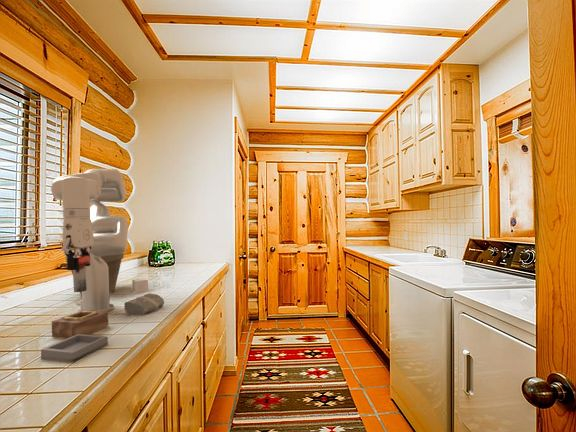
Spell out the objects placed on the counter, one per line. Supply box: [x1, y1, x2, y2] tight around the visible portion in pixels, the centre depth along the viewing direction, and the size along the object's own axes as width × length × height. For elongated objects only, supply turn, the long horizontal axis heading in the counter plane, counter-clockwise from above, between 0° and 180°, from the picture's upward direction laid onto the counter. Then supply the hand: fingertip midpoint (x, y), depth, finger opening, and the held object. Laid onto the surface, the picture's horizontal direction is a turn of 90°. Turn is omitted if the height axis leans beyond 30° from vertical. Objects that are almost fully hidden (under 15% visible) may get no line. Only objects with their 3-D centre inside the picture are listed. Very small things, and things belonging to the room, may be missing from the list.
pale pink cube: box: [131, 277, 149, 294], centre depth 158 cm, size 6×6×6 cm
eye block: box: [51, 311, 109, 339], centre depth 103 cm, size 11×11×6 cm
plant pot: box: [65, 251, 125, 297], centre depth 156 cm, size 25×25×22 cm
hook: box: [72, 255, 90, 293], centre depth 103 cm, size 6×6×12 cm
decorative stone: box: [123, 293, 165, 317], centre depth 123 cm, size 13×10×6 cm
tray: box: [40, 334, 109, 363], centre depth 87 cm, size 11×11×2 cm
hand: (79, 267), depth 103 cm, fingers closed on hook, 6 cm apart
